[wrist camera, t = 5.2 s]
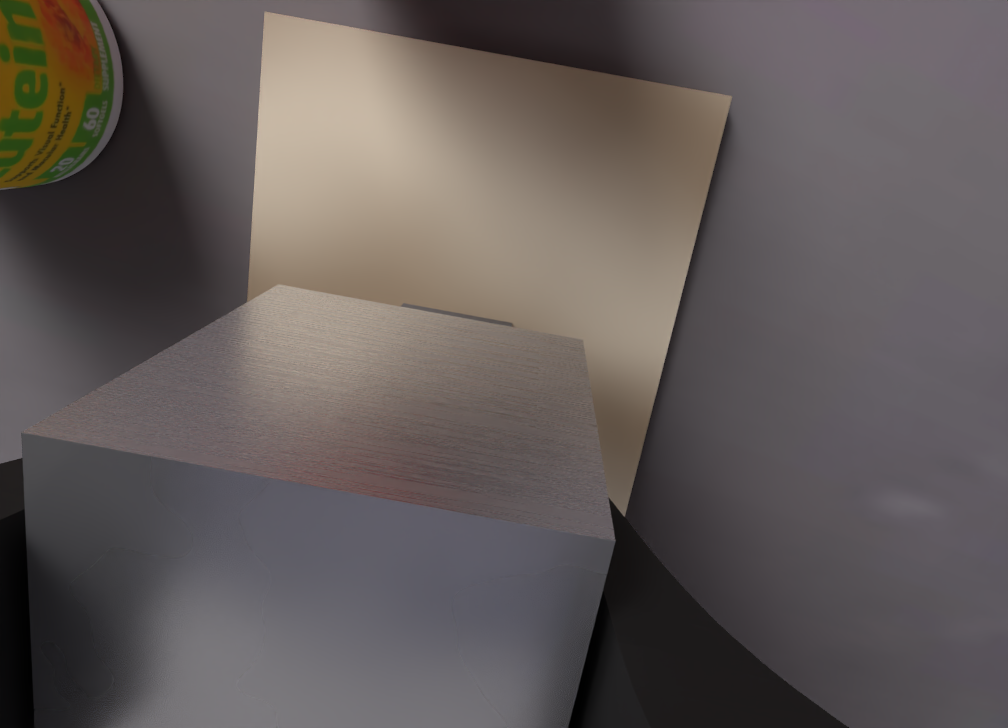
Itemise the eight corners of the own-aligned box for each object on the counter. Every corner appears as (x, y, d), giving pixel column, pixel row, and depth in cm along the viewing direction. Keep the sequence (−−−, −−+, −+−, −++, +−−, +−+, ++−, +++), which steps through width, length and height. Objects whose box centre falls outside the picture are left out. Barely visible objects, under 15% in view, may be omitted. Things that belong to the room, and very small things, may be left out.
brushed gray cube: (527, 597, 13) (510, 952, 8) (258, 548, 13) (41, 864, 8) (583, 339, 12) (615, 542, 6) (278, 284, 12) (21, 431, 6)
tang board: (591, 619, 20) (602, 743, 16) (242, 555, 20) (165, 663, 16) (723, 97, 16) (783, 86, 12) (278, 17, 16) (185, -22, 12)
